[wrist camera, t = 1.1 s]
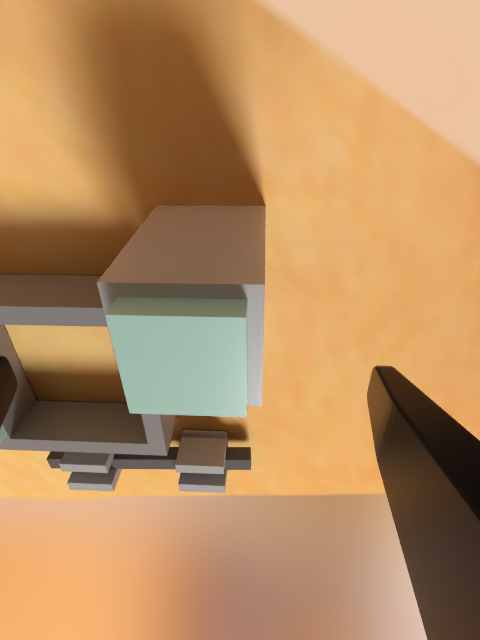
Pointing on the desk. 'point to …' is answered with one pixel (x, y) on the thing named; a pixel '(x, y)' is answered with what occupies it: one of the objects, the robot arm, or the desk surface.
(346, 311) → the desk surface
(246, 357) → the block
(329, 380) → the desk surface
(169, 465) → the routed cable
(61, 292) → the frame
